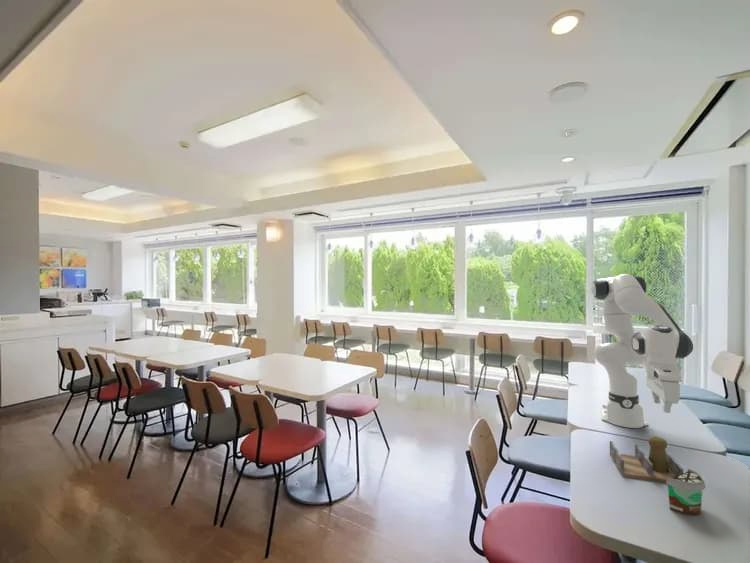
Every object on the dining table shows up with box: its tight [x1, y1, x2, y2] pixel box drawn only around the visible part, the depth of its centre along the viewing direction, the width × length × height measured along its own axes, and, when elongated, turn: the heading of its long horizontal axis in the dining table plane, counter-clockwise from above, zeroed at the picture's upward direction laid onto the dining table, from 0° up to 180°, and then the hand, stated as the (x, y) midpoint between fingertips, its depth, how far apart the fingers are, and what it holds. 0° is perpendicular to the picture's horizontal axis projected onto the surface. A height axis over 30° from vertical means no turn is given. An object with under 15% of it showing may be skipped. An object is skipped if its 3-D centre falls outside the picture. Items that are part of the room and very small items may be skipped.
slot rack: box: [609, 440, 684, 484], centre depth 126 cm, size 16×17×6 cm
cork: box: [647, 436, 669, 473], centre depth 124 cm, size 6×6×11 cm
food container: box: [665, 467, 706, 517], centre depth 103 cm, size 12×6×10 cm, turn 114°
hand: (661, 407), depth 127 cm, fingers open, 8 cm apart
